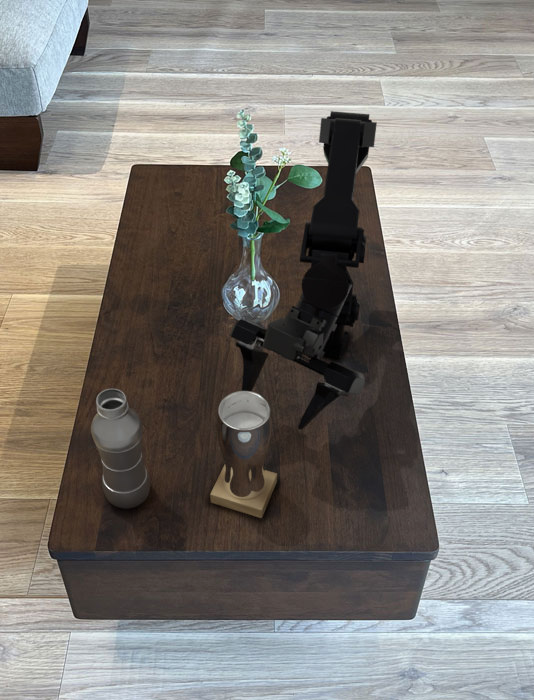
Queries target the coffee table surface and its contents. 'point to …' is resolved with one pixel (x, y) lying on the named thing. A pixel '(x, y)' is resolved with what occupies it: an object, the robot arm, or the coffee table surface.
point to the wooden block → (247, 506)
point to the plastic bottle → (120, 450)
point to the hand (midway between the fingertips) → (271, 413)
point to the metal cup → (244, 442)
